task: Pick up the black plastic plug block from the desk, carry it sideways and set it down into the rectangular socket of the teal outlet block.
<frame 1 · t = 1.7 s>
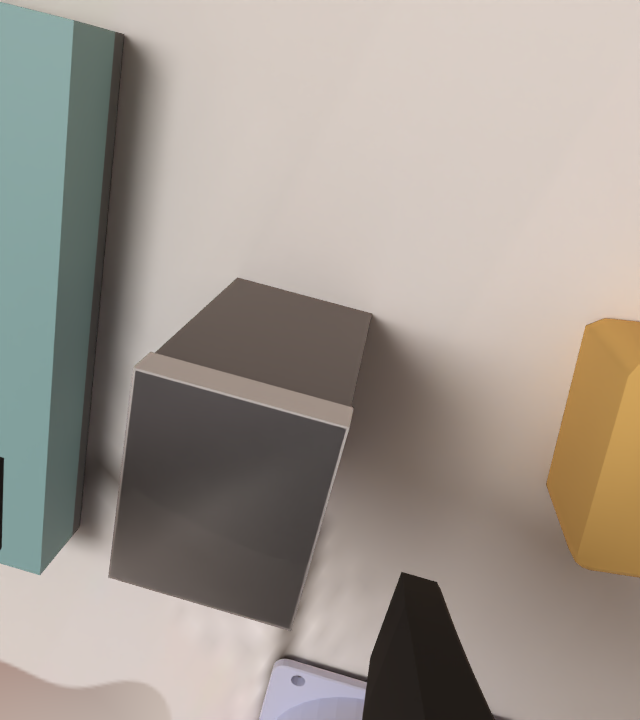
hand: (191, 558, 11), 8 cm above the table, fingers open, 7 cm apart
plug: (286, 372, 19), on the table
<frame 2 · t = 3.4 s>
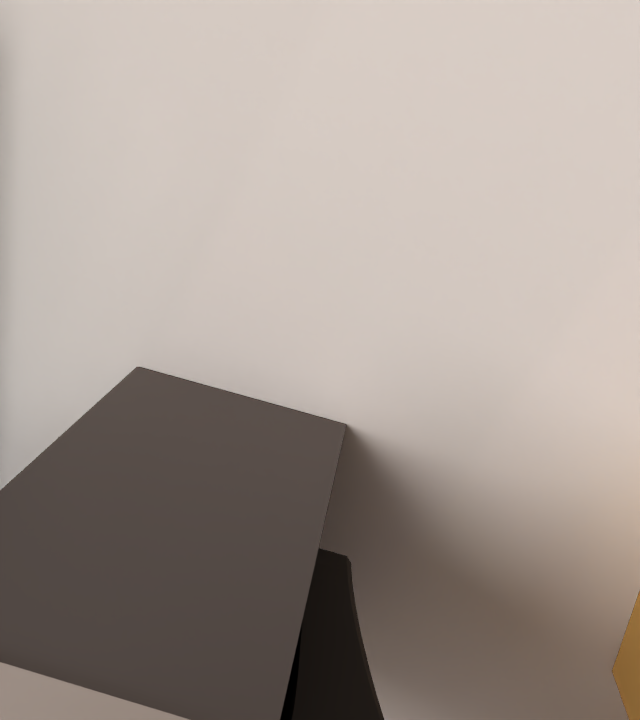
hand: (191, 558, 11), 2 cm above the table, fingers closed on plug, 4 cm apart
plug: (219, 504, 12), on the table, touching gripper
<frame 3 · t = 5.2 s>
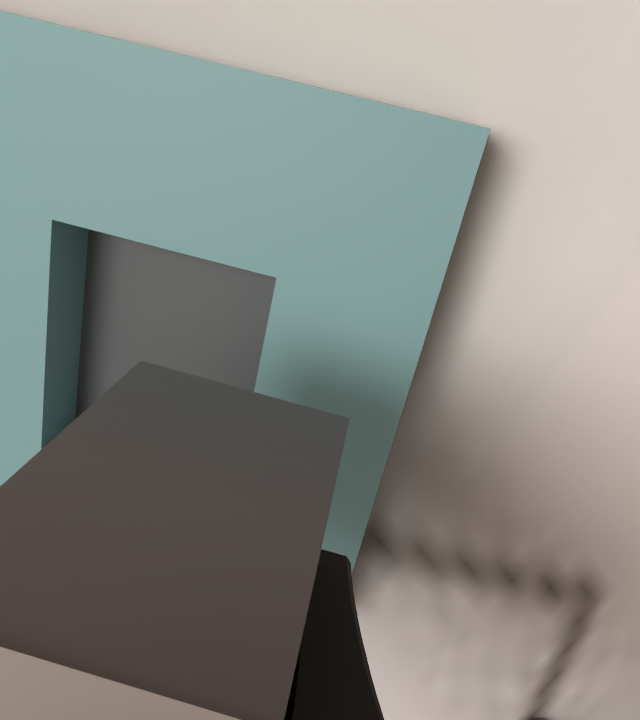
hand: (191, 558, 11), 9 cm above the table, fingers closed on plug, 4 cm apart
plug: (222, 498, 12), point 7 cm above the table, touching gripper
outlet block: (180, 340, 19), on the table
when the fingers open (3 cm above the table, at t = 7.3 s): plug drops 1 cm, resting on outlet block.
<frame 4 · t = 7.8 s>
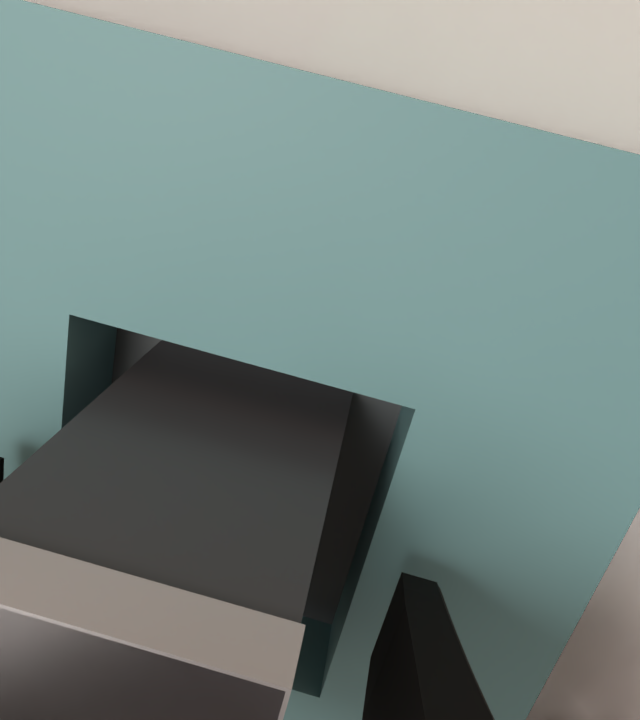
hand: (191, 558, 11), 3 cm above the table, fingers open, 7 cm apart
plug: (237, 465, 13), resting on outlet block
outlet block: (242, 458, 14), on the table
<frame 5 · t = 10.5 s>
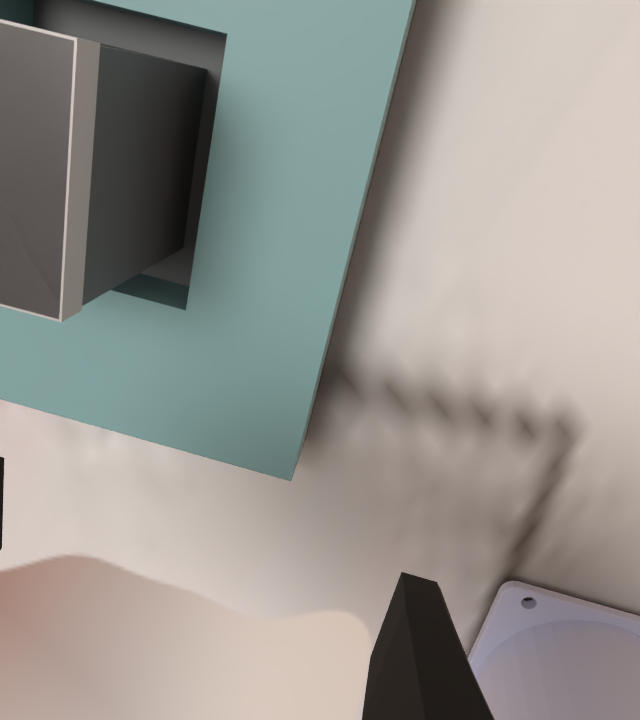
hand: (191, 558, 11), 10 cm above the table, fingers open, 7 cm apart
plug: (127, 146, 18), resting on outlet block
outlet block: (134, 149, 18), on the table
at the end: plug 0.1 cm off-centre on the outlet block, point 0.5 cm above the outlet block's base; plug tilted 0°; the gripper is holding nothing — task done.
